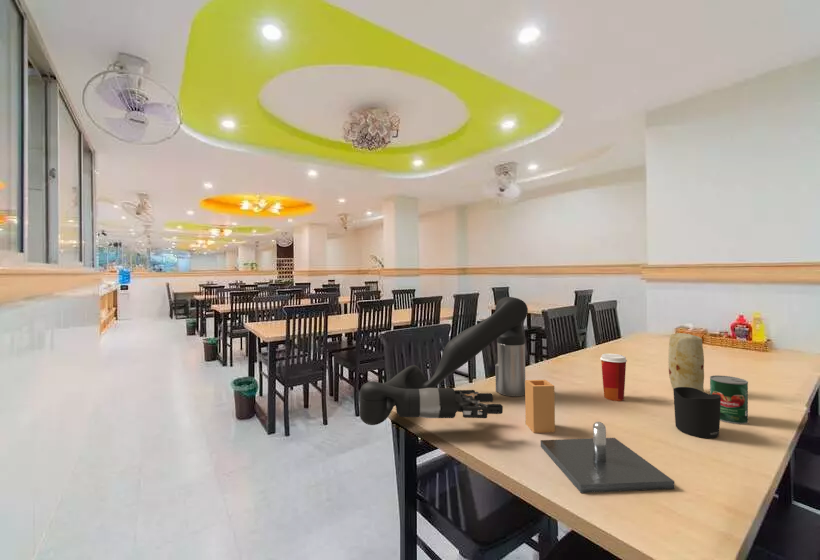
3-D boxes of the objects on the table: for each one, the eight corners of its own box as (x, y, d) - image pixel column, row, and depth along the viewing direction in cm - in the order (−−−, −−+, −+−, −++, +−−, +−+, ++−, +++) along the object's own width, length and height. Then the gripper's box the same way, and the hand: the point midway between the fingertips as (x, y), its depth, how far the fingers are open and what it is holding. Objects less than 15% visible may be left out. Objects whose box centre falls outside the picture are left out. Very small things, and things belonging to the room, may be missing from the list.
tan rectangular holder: (533, 432, 91) (533, 386, 90) (525, 423, 96) (525, 380, 96) (555, 432, 91) (554, 385, 91) (545, 423, 96) (545, 379, 96)
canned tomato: (717, 422, 96) (717, 381, 95) (704, 411, 103) (704, 374, 103) (755, 426, 93) (754, 384, 93) (739, 415, 100) (738, 376, 100)
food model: (706, 393, 118) (705, 334, 118) (701, 398, 114) (701, 336, 114) (671, 387, 126) (670, 331, 126) (665, 391, 122) (665, 333, 121)
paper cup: (620, 394, 119) (619, 353, 119) (632, 402, 111) (631, 358, 111) (596, 394, 120) (595, 353, 119) (606, 402, 112) (605, 358, 112)
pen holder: (681, 436, 87) (680, 396, 87) (668, 421, 96) (668, 385, 96) (728, 442, 84) (728, 400, 84) (711, 426, 93) (710, 388, 93)
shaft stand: (580, 492, 65) (580, 443, 65) (540, 446, 83) (540, 407, 83) (674, 489, 66) (673, 440, 66) (614, 443, 84) (614, 405, 84)
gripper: (433, 407, 99) (489, 407, 100) (439, 428, 85) (505, 428, 86) (433, 380, 99) (490, 381, 100) (440, 397, 85) (506, 398, 86)
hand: (497, 403), depth 93 cm, fingers open, 8 cm apart
